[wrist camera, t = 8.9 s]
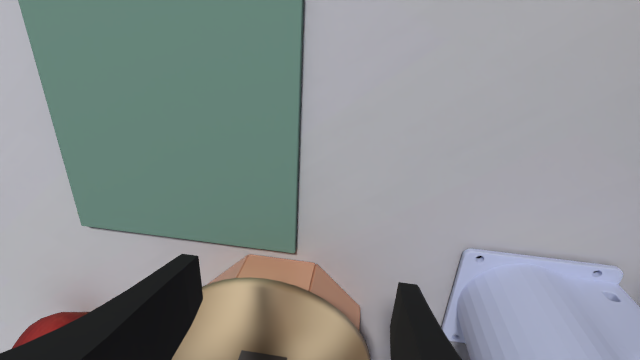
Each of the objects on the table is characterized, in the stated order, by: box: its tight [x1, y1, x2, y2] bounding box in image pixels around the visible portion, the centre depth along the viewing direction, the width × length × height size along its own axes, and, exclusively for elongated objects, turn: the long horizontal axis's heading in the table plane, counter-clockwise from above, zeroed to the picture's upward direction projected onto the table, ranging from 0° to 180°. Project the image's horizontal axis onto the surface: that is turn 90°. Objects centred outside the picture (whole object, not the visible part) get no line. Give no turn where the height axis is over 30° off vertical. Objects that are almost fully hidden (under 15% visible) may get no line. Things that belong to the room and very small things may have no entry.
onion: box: [12, 312, 89, 349], centre depth 27 cm, size 6×6×8 cm
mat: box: [18, 0, 304, 253], centre depth 22 cm, size 16×16×1 cm
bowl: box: [207, 254, 360, 331], centre depth 26 cm, size 12×12×4 cm
